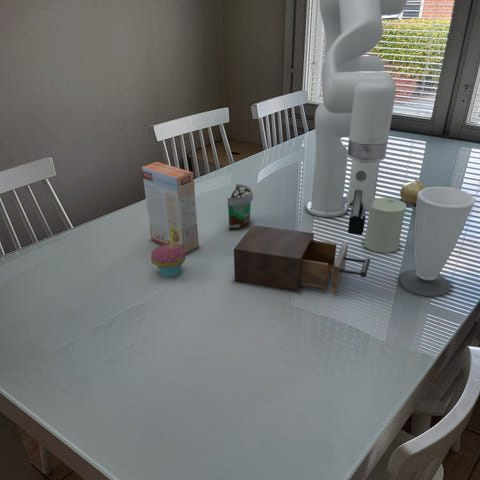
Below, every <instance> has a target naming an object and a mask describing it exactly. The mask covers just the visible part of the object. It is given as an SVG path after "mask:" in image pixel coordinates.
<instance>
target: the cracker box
mask: <svg viewBox="0 0 480 480" xmlns="http://www.w3.org/2000/svg"><path fill="white" fill-rule="evenodd" d="M141 173H142V179H143V188H144V195H145V203H146V209H147V217H148V224H149V225H148V226H149V230H150V231H149V232H150V239H151V240H152V241H153V242H155V243H158V244H160V245H167V244H170V239H171V232H172V229H173V232H174V234H173V244H174V245H177V246H179V247H181V248H182V249H183V250H184V251H185V252H186V254H188V253H190V252H192V251H194V250H196V249H198V248H199V246H200V245H199V231H198V217H197V205H196V191H195V189H196V188H195V177H194V172H192V171H189V170H187V169H183V168H180V167H176V166H173V165H170V164H166V163H163V162H161V161H156V162H152V163H149V164H146V165H143V166H141Z"/></svg>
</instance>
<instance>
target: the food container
mask: <svg viewBox="0 0 480 480" xmlns="http://www.w3.org/2000/svg"><path fill="white" fill-rule="evenodd" d="M253 194H254V193H253V190H252V188H251V187H249V186H247V185H245V184H238V183H236V184H235V189H234V190H233V192H232V194H231V196H230V197H227V209H228V211H227V212H228V226H229V227H228V228H229V229H228V230H230V231H238V230H244V229H245V228H248V226H250V221H251V209H252V208H251V207H252V201H253V200H254V195H253Z"/></svg>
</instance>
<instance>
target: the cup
mask: <svg viewBox="0 0 480 480" xmlns="http://www.w3.org/2000/svg"><path fill="white" fill-rule="evenodd" d="M475 201H476V199H475V198H474V196H473V195H472V194H471V193H469V192H467V191H465V190H462V189H458V188H455V187H449V186H429V187H425V189H423V190H421V191H420V192H419V193H418V195H417V204H415V205H416V206H415V207H416V208H415V219H414V239H413V241H414V248H413V249H414V265H415V270H413V271H408V272H405V273H404V274H402V275H401V276H400V278H399V282H400V285H401V286H402V287H403V288H404V289H405V290H406V291H408V292H410V293H411V294H414V295H418V296H422V297H431V298H432V297H433V298H435V297H440V296H444V295H446V294H448V293H449V292H450V290H451V287H452V286H451V284H450V282H449V280H447V279H446V278H445V277H444V276H442V275H440V273H441V272H442V270H443V269H444V267H445V266H446V264H447V263H448V260H449V258H451V255H452V253H453V251H454V249H455V248H456V245H457V243H458V241H459V239H460V237H461V235H462V233H463V231H464V228H465V226H466V224H467V221H468V219H469V216H470V214H471V211H472V209H473V206H474V204H475Z"/></svg>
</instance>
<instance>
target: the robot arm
mask: <svg viewBox="0 0 480 480" xmlns="http://www.w3.org/2000/svg"><path fill="white" fill-rule="evenodd" d="M407 2H408V0H319V11H320V16H321V20H322V24H323V29H324V34H325V35H324V36H325V43H324V44H325V46H324V56H323V57H324V58H323V62H322V69H321V90H322V91H321V92H322V93H321V94H322V101H323V102H321V103H320V104H318V106H317V107H316V109H315V111H314V128H315V129H314V130H315V132H314V133H315V151H314V166H313V180H312V193H311V200H310V201H308V202H307V204H306V207H305V208H306V211H307V212H308V213H309V214H310V215H314V216H317V217H320V218H336V217H341V216H343V215H345V214H346V213H347V211H348V209H350V215H349V220H348V226H347V227H348V228H347V233H348V234H350V235H355V236H356V235H357V236H362V235H363V233H364V230H365V222H366V216H367V215H366V211H369V210H370V209H371V207H372V205H373V202H374V199H376V192H377V184H378V178H379V171H380V163H381V162H382V161H384V160H385V159H386V155H387V150H388V149H387V148H388V144H389V143H388V142H389V137H390V130H391V124H392V118H393V112H394V106H395V101H396V100H395V99H396V92H397V86H396V85H397V84H396V81H395V80H394V77H393V76H392V74H390V73H389V72H386V71H385V65H384V62H383V59H382V58H381V57H380V56H378V55H372V54H371V55H369V54H368V53H369V52H371V51H372V50H373V49H375V48H376V47H377V46H378V44H380V42H381V40H382V37H383V33H384V27H383V26H384V25H383V19H386V18H395V17H398V16H399V15H401V14H402V12H403V11H404V10H405V8H406V6H407ZM365 54H366V55H365ZM342 138H348V143H347V146H346V145H345V143H344V142H343V141H342V140H341V139H342ZM348 159H350V160H351V167H350V173H349V181H348V192H347V193H345V187H346V176H347V167H348Z"/></svg>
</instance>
